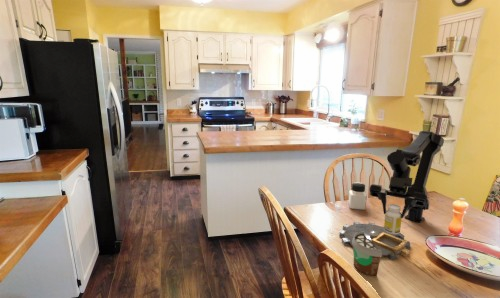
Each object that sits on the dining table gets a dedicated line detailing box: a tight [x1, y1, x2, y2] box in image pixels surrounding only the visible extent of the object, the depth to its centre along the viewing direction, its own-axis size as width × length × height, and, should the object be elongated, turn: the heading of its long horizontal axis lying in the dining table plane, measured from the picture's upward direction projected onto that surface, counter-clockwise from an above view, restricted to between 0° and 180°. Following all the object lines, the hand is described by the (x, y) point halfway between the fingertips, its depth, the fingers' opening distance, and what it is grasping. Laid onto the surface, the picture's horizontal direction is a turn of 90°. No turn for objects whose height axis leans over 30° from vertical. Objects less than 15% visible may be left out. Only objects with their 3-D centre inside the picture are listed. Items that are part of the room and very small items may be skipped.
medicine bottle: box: [348, 182, 368, 211], centre depth 141 cm, size 7×7×12 cm
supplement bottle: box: [383, 203, 403, 234], centre depth 104 cm, size 5×5×10 cm
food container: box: [352, 232, 383, 278], centre depth 93 cm, size 12×6×10 cm, turn 5°
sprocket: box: [339, 221, 411, 261], centre depth 110 cm, size 25×25×4 cm
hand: (392, 215), depth 102 cm, fingers closed on supplement bottle, 5 cm apart
